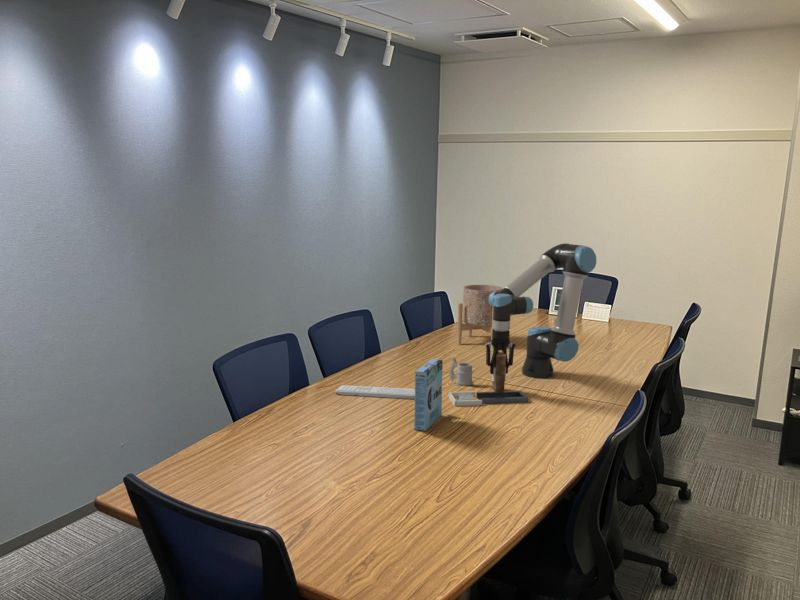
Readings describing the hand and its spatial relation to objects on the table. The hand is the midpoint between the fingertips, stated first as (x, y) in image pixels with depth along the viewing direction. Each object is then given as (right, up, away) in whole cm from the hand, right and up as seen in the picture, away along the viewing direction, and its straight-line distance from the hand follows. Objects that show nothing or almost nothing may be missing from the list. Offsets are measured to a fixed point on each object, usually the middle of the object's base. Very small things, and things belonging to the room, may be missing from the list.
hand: (498, 380), depth 295 cm
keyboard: (-49, -6, -2) cm, 50 cm away
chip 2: (-15, -7, -13) cm, 21 cm away
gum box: (-33, -12, -36) cm, 50 cm away
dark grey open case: (0, -8, -11) cm, 13 cm away
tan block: (0, -4, +1) cm, 4 cm away
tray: (-16, -8, -13) cm, 22 cm away
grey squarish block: (-18, -7, -14) cm, 24 cm away
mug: (-16, -3, +12) cm, 20 cm away
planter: (+3, +11, +90) cm, 91 cm away
